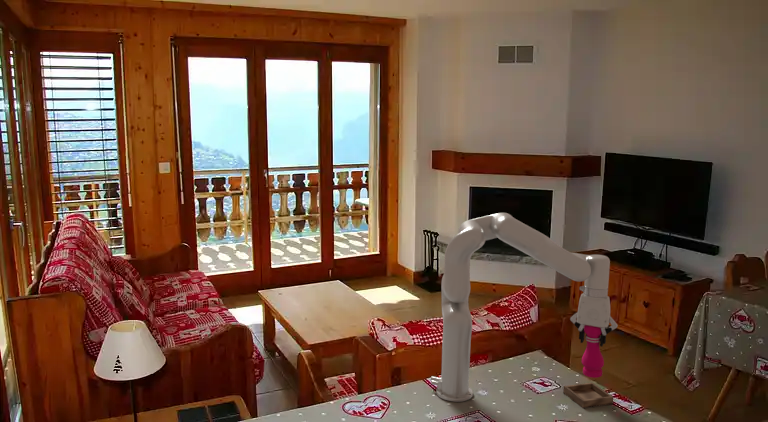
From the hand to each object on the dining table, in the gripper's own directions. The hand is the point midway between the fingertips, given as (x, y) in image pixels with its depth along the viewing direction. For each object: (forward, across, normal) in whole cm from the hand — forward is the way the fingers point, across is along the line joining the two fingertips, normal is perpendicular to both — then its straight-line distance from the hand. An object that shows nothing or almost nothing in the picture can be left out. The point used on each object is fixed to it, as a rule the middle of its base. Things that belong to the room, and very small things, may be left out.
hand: (592, 343), depth 202 cm
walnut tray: (+20, 0, 0) cm, 20 cm away
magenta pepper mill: (+11, +1, 0) cm, 11 cm away
